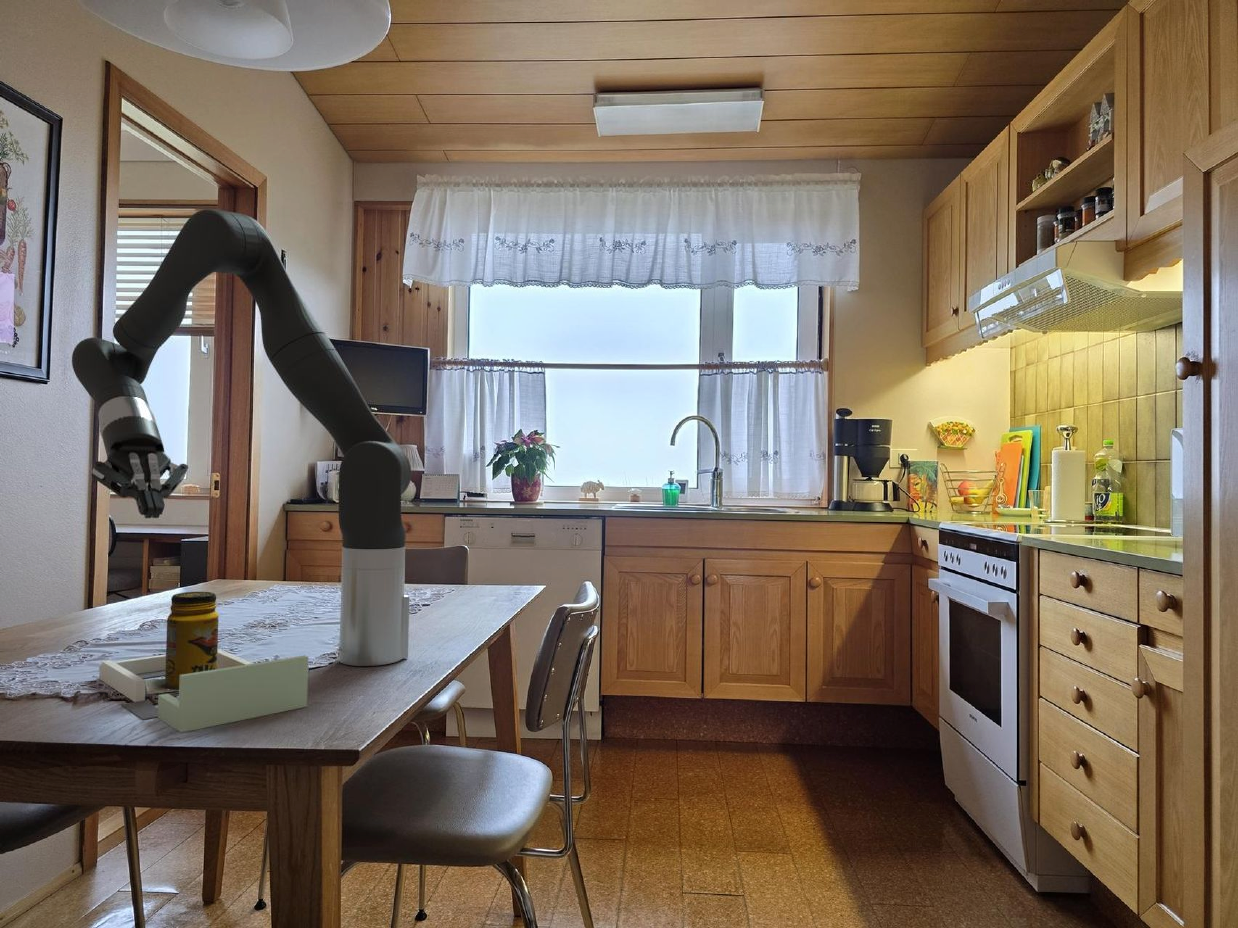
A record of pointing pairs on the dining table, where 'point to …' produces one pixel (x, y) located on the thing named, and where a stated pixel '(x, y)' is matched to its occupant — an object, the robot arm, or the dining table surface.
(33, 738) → the dining table surface
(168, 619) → the condiment
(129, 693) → the track
